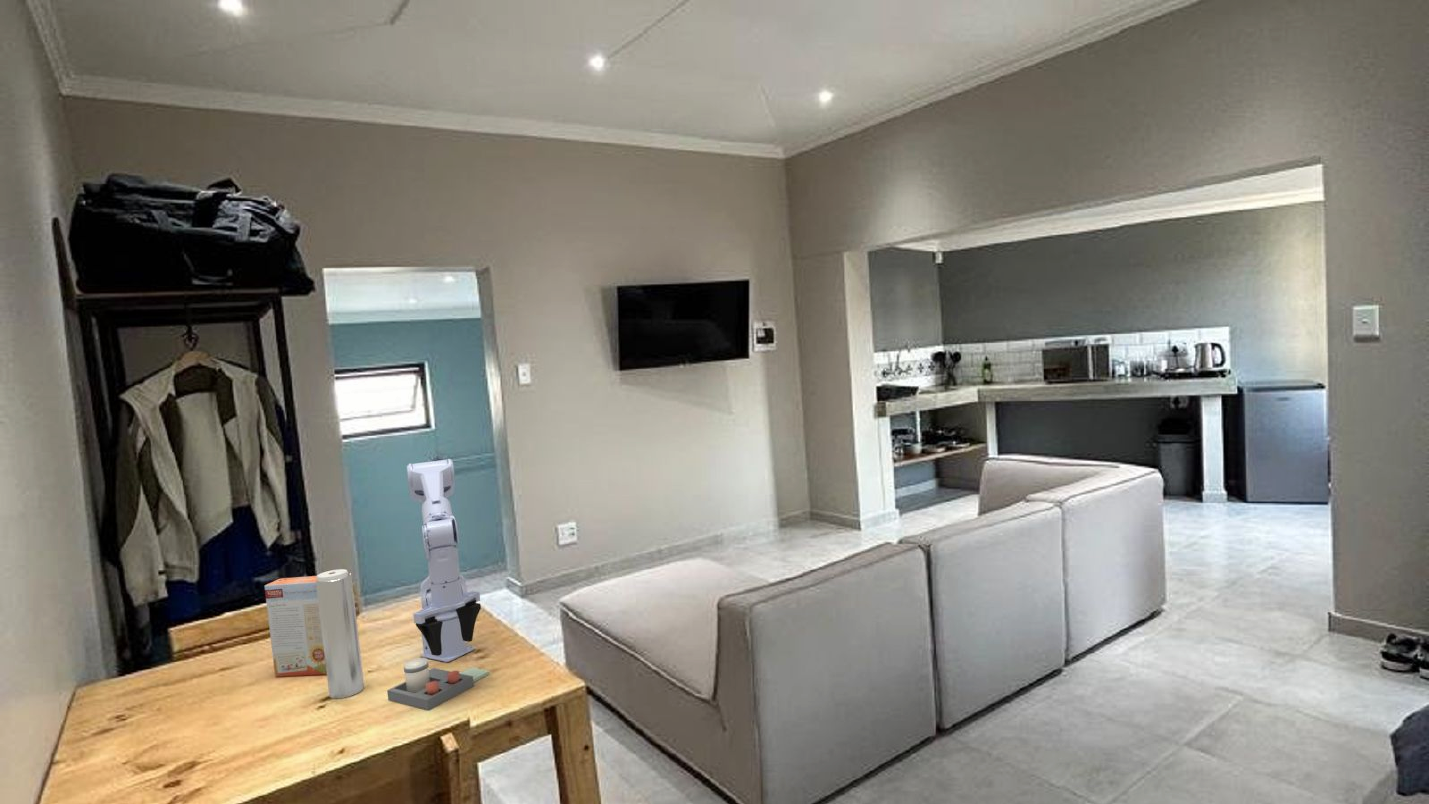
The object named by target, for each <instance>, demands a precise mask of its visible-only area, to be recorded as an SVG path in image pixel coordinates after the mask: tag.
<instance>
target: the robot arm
mask: <svg viewBox="0 0 1429 804" xmlns="http://www.w3.org/2000/svg"><path fill="white" fill-rule="evenodd" d="M406 471H407V472H406V473H407V481H408V489H409V492H410V497H411V498H412V500H413V501H415V502H419V503H420V504H421V514H422V522H423V523H422V524H423V525H422V526H421V532H422V533H421V534H422V542H423V547H424V551H425V555H426V561H427V562H428V563H427V567H428V569H427V570H428V576H427V577H425V579H424V580H423V581H422V582H421V585H420V599H421V600H420V601H421V609H420V610H418V611H415V612H413V621H414V622H413V623H414V624H415V626H416V628H417V629H418V630H419V631H420V632H421V641H422V648H423V649H422V651H423V653H421V654H420V658H427V659H431V660H434V661H440V662H445V663H449V662H452V661H454V660H456V659H457V658H460V657H462V656H463V655H464V656H465V655H466V654H468V653H470V652H473V651H474V650H476V646H472V645H467V642H469V643H470V642H472V641H473V637H474V631H475V627H476V626H475V625H476V622H477V618H478V615H479V613H480V611H481V610H482V609H481V603H478V602H480V601H481V596H480V595H481V594H480V591H479V590H478V591H476V590H472V591H469V592H468V589H467V585H466V579H465V577H464V575H462V574H461V571H460V564H459V563H460V562H459V555H458V554H459V552H458V547H459V543H460V539H459V537H460V536H459V529H458V528H459V527H458V523H457V520H456V518H455V516H454V515H453V511H452V510H453V509H452V505H451V502H450V500H449V499H448V498H450V497H451V496H453V495H454V491H455V489H456V488H455V483H456V476H455V467H454V462H453V459H451V458H447V459H442V460H440V459H439V460H434V461H433V460H432V461H427V462H426V461H425V462H417V463H408V465H406ZM455 543H456V545H455Z"/></svg>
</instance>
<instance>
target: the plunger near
mask: <svg viewBox="0 0 1429 804" xmlns="http://www.w3.org/2000/svg"><path fill="white" fill-rule="evenodd" d="M426 689H427V695H431V696H432V695H434V694H436V693H438V692H439V686H438V682H437V681H432V682H429V683H427V684H426Z"/></svg>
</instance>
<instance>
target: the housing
mask: <svg viewBox="0 0 1429 804" xmlns="http://www.w3.org/2000/svg"><path fill="white" fill-rule="evenodd" d="M449 672H451V671H449V670H444V669H439V668H436V667H433V668H430V669H429V677H430V682H432V681H437V682H438V686H439V692H438V693H436V694H434V695H432V696H431V695H427V689H426V688H425V689H423V690H421V691H419V692H417V693H411V692H407V688H406V680H404V681H403V682H401V683H398V685H396V686H393V687H390V688H389V689H386V690H387V693H386V694H387V700H388V701H391V702H394V703H397V704H398V703H399V704H403V705H405V706H410V707H414V708H417V709H421V710H425V711H430V710H432V709H433V708H435V707H437V706H440V705H441V704H443V703H446V702H447V701H449V700H451V699H452V698H454V697H456V696H458V695H460V694H462V693H463V692H466V691H467V690H469V689H471V688H473V687H474V685H475V682H473V676H469V675H464V674H459V678H460V681H459V682H457V683H455V684H453V685H452V684H448V677H447V674H448V673H449Z"/></svg>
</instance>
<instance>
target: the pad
mask: <svg viewBox="0 0 1429 804" xmlns="http://www.w3.org/2000/svg"><path fill="white" fill-rule="evenodd" d="M459 674H464V675H469V676H473V682H474V683H475V682H477V681H479V680H481V679H483V678H485V677H487V676H489V675H490V670H486V669H481V668H476V667H469V668H467V669H465V670H463V671H461V672H459Z"/></svg>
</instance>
